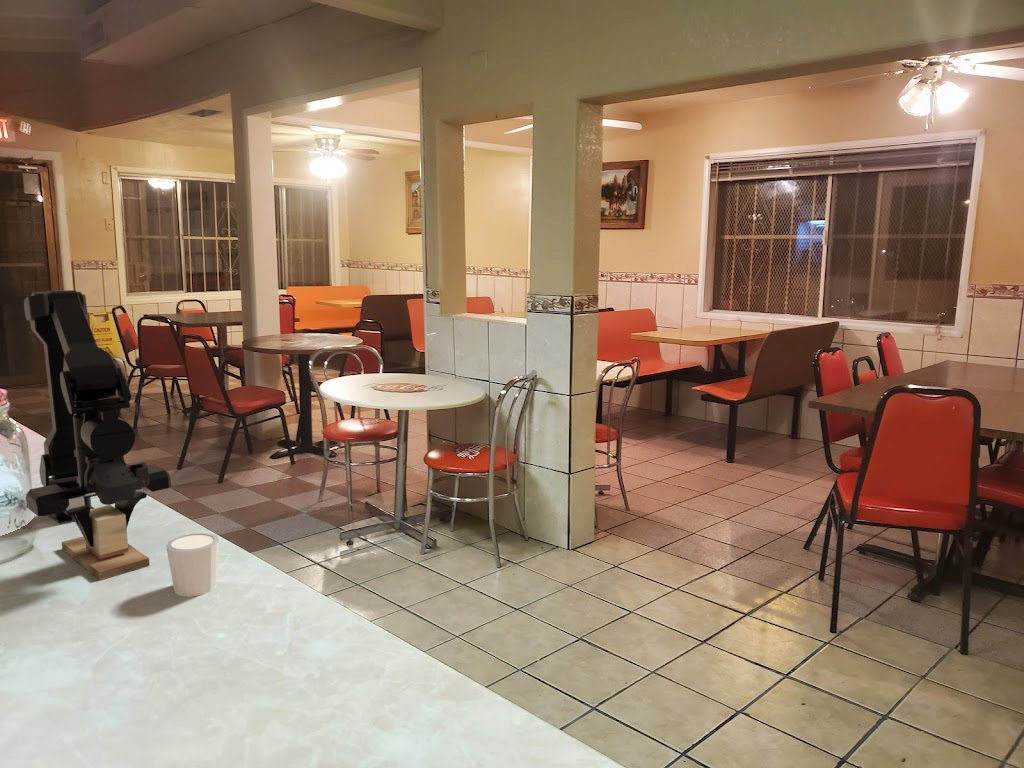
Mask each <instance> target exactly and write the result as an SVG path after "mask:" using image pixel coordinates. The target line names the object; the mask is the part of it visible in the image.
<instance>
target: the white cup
mask: <svg viewBox="0 0 1024 768" xmlns="http://www.w3.org/2000/svg"><path fill="white" fill-rule="evenodd" d="M219 542H220V539H219V537H218V536H217V535H215V534H212V533H206V532H205V533H204V532H201V533H199V532H196V533H188V534H182V535H180V536H177V537H174V538H173V539H171V540H169V541H168V542H167V543H166V545H165V547H166V552H167V558H168V563H169V568H170V575H171V580H172V585H173V591H174V592H175V593H174V594H175V595H178V596H180V597H198V596H202V595H205V594H207V593H210V592H212V591H214V590H215V589H216V587H217V585H218V569H219V568H218V567H219V566H218V564H219V544H220V543H219Z"/></svg>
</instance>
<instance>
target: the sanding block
mask: <svg viewBox="0 0 1024 768" xmlns="http://www.w3.org/2000/svg"><path fill="white" fill-rule="evenodd" d="M93 508H94V509H90V513H89V518H90V523H91V528H92V533H93V547H90V546H89V545H88V544H87V542H86V540H85V544H86V549H88V550H89V551H90V552H92V553H93V554H94V555H96V556H97V557H98V558H100V559H103V558H107V557H110V556H114V555H118V554H121V553H125V552H128V544H129V543H128V532H127V531H128V527H127V528H126V516H125V514H124V513H122V512H121V511H119V510H118V509H116V508H115V506H113V505H112V504H111V505H104V506H100V507H93Z"/></svg>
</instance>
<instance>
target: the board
mask: <svg viewBox="0 0 1024 768" xmlns="http://www.w3.org/2000/svg"><path fill="white" fill-rule="evenodd" d="M61 548H62V550H63V551H64V550H65V551H66V552H65V551H64V552H65V553H67V554H68V555H69V554H70V555H71V556H72V558H73V559H74V560H75V559H76V560H77V561H76V560H75V561H76V562H77V563H79V564H80V565H81V564H82V565H83V566H82V565H81V566H82V567H83V568H85V569H86V570H88V571H89V572H90V574H92V575H94V577H96V578H97V579H99V580H100V581H102V580H105V579H108V578H111V577H115V576H118V575H119V576H120V575H121V574H125V573H129V572H133V571H136V570H138V569H143V568H146V567H149V566H150V558H149V557H148V556H147V555H145V554H144V553H142V552H141V551H139V550H138V549H136V548H135V547H134V546H132V545H130V543H128V552H125V553H121V554H118V555H114V556H110V557H107V558H103V559H100V558H98V557H97V556H96V555H94V554H93V553H92V552H90V551H89V550H88V549H86V544H85V538H84V537H83V536H80V537H76V538H72V539H68V540H64V541H61ZM70 555H69V556H70ZM71 556H70V557H71Z"/></svg>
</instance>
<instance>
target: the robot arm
mask: <svg viewBox="0 0 1024 768" xmlns="http://www.w3.org/2000/svg"><path fill="white" fill-rule="evenodd" d="M30 295H31V296H27V297H26V298H24V300H23V310H24V316H25V319H26V321H29V324H30V329H31V331H32V332H33V333H34V334H35V336H36V337H37V338H38V339H39V341H40V342H41V343H42V344H43V349H44V359H45V369H46V380H47V388H48V397H49V406H50V415H51V426H52V428H51V429H50V432H49V434H48V435H47V437H46V438H45V440H44V442H43V452H44V453H43V454H41V455H40V463H39V471H38V473H39V478H40V484H41V485H42V486H40V487H35V488H30V489H29V490H28V492H27V493H26V494H25V503H26V508H27V509H28V510H29V511H30V512H32V513H33V514H34V515H36V516H37V517H46V516H49V517H50V518H52V519H53V520H55V521H56V522H58V523H59V524H63V523H67V522H71V521H74V522H75V524H76V526H77V527H78V529H79V532H80V533H81V535H82V537H84V538H85V540H86V542H87V544H88V545H89V546H90V547H93V533H92V528H91V523H90V518H89V513H90V509H94V508H95V507H93V506H92V499H91V498H92V497H97V498H98V500H99V502H100V503H101V504H102V505H104V506H108V505H111V506H112V505H114V508H116V509H118V510H119V511H121V512H122V513H124V514H125V516H126V528H127V529H128V525H129V522H130V520H131V516H132V514H133V511H134V509H135V507H136V505H137V504H138V503H139V501H141V500H143V499H146V498H147V496H148V494H147V493H145V492H144V488H146V489H147V490H149V491H151V492H157V491H161V490H167V489H170V488H171V487H172V482H171V475H170V472H168V471H167V470H165V469H164V468H161V467H159V466H157V465H155V464H150V465H147V464H146V463H145V462H140V463H135V464H129V465H127V464H126V461H125V458H124V456H125V455H127V454H128V453H129V452H130V451H131V450H132V449H133V447H134V445H135V443H136V433H135V430H134V429H133V427H132V426H131V424H130V423H129V422H127V421H125V419H122V418H121V416H120V409H121V410H122V409H127V408H131V403H130V402H131V399H132V393H131V391H130V387H129V383H128V381H127V377H126V375H125V373H123V372H122V368H121V367H120V366H117V365H116V362H115V360H114V358H113V356H112V355H111V353H110V352H108V351H106V350H104V349H102V348H100V346H98V343H97V341H96V339H95V335H94V334H93V331H92V328H91V325H90V323H89V321H88V316H89V312H88V307H87V297H86V294H83V293H82V292H81V291H77V290H76V289H73V290H71V289H67V290H66V289H65V290H64V289H63V290H49V291H44V292H43V291H40V292H39V291H38V292H37V291H36V292H34V291H33V292H32V293H31V294H30ZM117 395H118V397H116V396H117Z"/></svg>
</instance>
